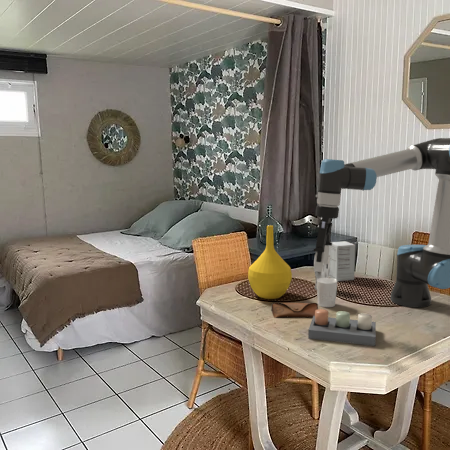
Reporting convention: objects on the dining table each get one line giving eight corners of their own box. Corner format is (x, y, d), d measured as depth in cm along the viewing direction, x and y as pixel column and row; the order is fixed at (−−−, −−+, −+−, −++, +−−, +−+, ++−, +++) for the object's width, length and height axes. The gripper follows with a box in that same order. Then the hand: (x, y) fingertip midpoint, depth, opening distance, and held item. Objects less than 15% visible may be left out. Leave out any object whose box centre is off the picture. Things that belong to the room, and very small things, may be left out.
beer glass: (331, 287, 206) (332, 254, 204) (326, 292, 200) (327, 258, 198) (317, 285, 210) (317, 253, 207) (311, 289, 204) (311, 256, 201)
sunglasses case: (273, 318, 171) (272, 300, 174) (271, 321, 178) (270, 303, 180) (322, 318, 171) (320, 300, 173) (318, 321, 178) (317, 303, 180)
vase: (300, 296, 195) (301, 226, 190) (266, 305, 185) (267, 231, 179) (272, 286, 210) (272, 220, 204) (239, 294, 199) (238, 225, 194)
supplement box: (354, 280, 217) (356, 244, 214) (336, 281, 215) (337, 246, 212) (345, 274, 226) (346, 240, 224) (327, 276, 224) (328, 241, 221)
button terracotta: (328, 321, 159) (329, 309, 159) (327, 325, 155) (327, 314, 155) (315, 319, 161) (315, 308, 160) (314, 324, 157) (314, 313, 156)
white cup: (336, 308, 181) (337, 283, 179) (316, 307, 182) (316, 282, 180) (336, 301, 188) (337, 278, 186) (316, 300, 190) (316, 277, 188)
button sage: (349, 323, 157) (350, 311, 157) (349, 328, 153) (349, 316, 153) (336, 321, 159) (336, 310, 158) (335, 326, 155) (335, 315, 154)
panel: (375, 330, 159) (375, 321, 159) (375, 345, 147) (375, 337, 147) (313, 323, 166) (313, 315, 165) (308, 338, 154) (308, 329, 153)
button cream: (371, 325, 155) (372, 313, 155) (371, 330, 151) (372, 318, 150) (357, 324, 157) (358, 312, 156) (357, 328, 152) (357, 317, 152)
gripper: (321, 201, 169) (315, 258, 173) (310, 207, 146) (303, 273, 149) (342, 204, 167) (336, 261, 170) (334, 210, 144) (327, 276, 147)
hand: (320, 267), depth 160 cm, fingers open, 13 cm apart
